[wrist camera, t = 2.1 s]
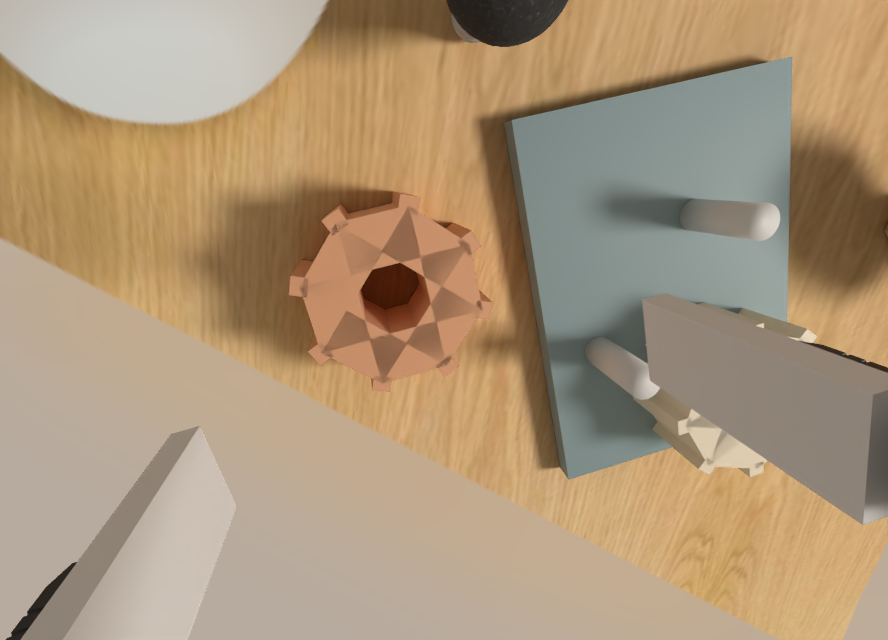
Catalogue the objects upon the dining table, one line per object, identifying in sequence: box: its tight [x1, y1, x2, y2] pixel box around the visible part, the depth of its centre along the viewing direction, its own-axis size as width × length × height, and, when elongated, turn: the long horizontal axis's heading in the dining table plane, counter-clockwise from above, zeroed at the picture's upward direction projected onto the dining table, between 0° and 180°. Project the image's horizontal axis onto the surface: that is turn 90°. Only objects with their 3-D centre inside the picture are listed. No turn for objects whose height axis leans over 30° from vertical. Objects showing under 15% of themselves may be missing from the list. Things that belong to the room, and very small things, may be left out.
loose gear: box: [289, 192, 493, 392], centre depth 27 cm, size 10×10×5 cm
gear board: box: [504, 57, 817, 479], centre depth 29 cm, size 25×18×7 cm
